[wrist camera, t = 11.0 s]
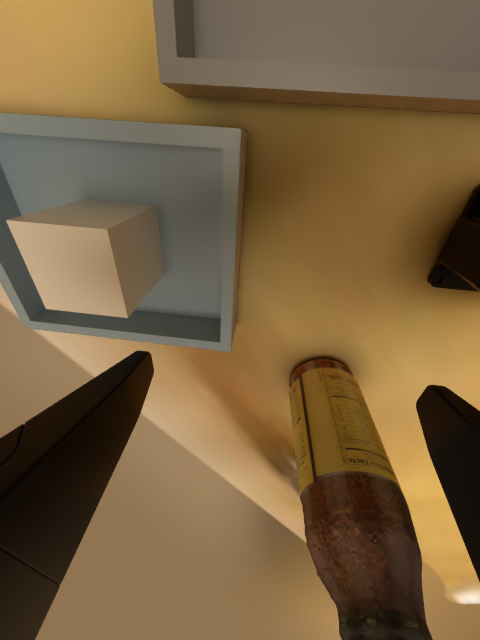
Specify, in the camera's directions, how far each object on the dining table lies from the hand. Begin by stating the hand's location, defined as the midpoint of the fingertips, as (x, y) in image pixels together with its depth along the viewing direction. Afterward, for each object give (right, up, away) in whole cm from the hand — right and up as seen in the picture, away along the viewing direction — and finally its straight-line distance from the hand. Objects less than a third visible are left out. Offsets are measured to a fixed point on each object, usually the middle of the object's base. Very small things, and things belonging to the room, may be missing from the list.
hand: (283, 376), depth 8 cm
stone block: (-10, +8, +10) cm, 16 cm away
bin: (-10, +8, +10) cm, 16 cm away
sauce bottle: (+7, -4, +17) cm, 18 cm away
